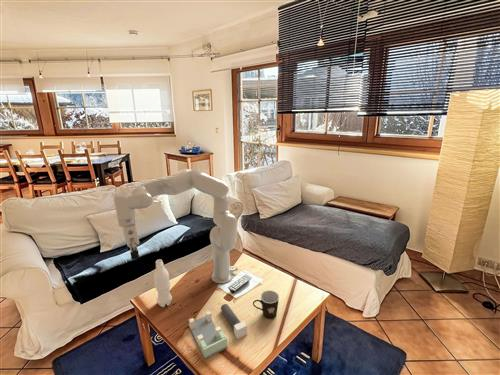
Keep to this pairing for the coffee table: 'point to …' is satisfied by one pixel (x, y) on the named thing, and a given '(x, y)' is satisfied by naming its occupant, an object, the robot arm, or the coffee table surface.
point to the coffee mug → (269, 304)
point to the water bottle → (162, 284)
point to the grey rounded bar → (234, 322)
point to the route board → (208, 335)
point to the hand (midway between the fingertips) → (133, 253)
